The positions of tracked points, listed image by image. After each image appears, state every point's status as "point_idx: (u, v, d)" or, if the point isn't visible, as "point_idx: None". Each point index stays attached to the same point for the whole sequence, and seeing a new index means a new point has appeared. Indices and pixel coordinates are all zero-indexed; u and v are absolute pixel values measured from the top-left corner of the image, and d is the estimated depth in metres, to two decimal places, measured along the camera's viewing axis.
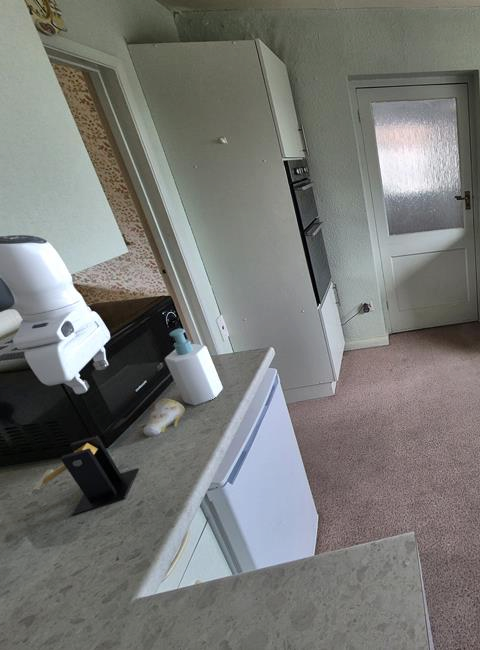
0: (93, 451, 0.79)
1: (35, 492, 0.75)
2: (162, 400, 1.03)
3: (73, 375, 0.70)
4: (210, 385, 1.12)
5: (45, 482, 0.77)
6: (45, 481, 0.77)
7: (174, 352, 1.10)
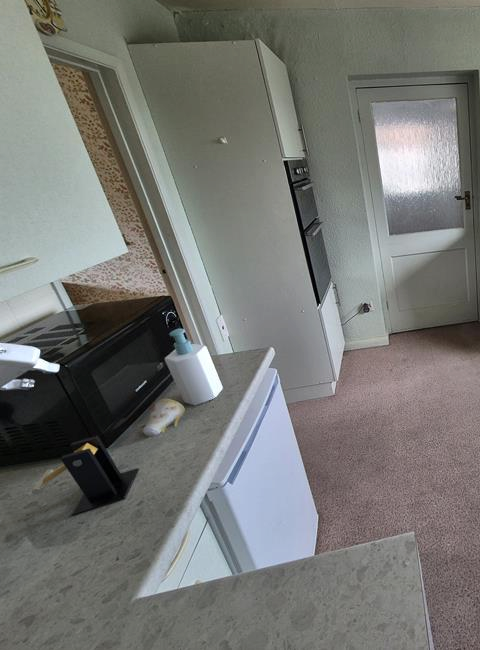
0: (93, 451, 0.79)
1: (35, 492, 0.75)
2: (162, 400, 1.03)
3: None
4: (210, 385, 1.12)
5: (45, 482, 0.77)
6: (45, 481, 0.77)
7: (174, 352, 1.10)
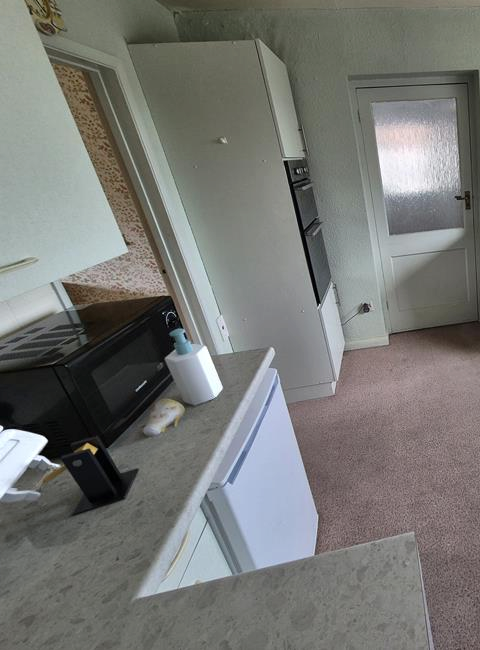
0: (93, 451, 0.79)
1: None
2: (162, 400, 1.03)
3: None
4: (210, 385, 1.12)
5: (45, 482, 0.77)
6: (45, 481, 0.77)
7: (174, 352, 1.10)
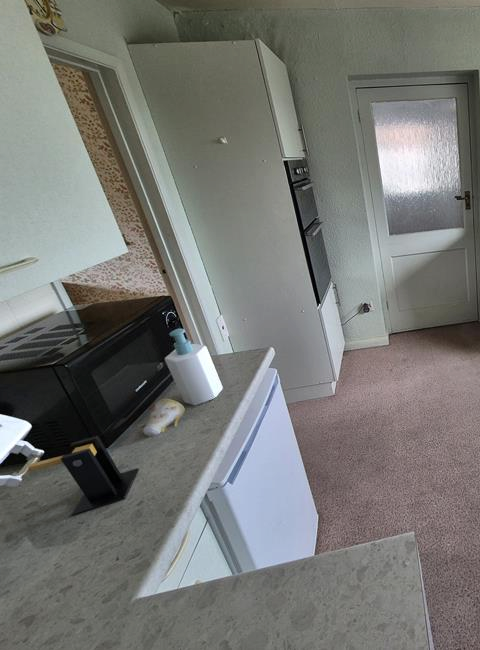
0: None
1: None
2: (162, 400, 1.03)
3: None
4: (210, 385, 1.12)
5: (30, 470, 0.75)
6: (31, 468, 0.76)
7: (174, 352, 1.10)
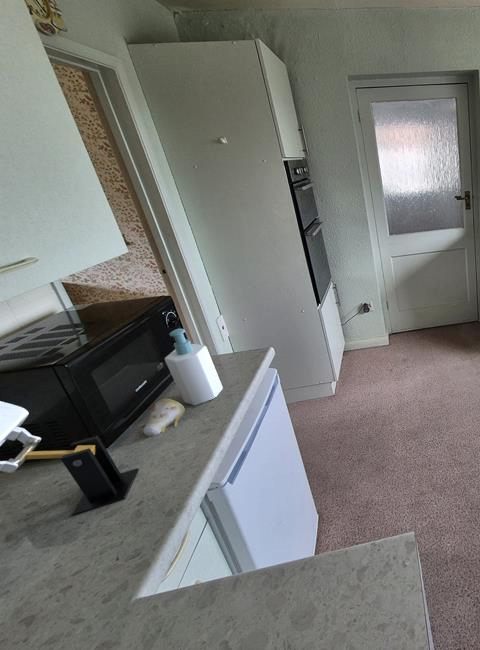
0: None
1: None
2: (162, 400, 1.03)
3: None
4: (210, 385, 1.12)
5: (26, 458, 0.74)
6: (27, 457, 0.75)
7: (174, 352, 1.10)
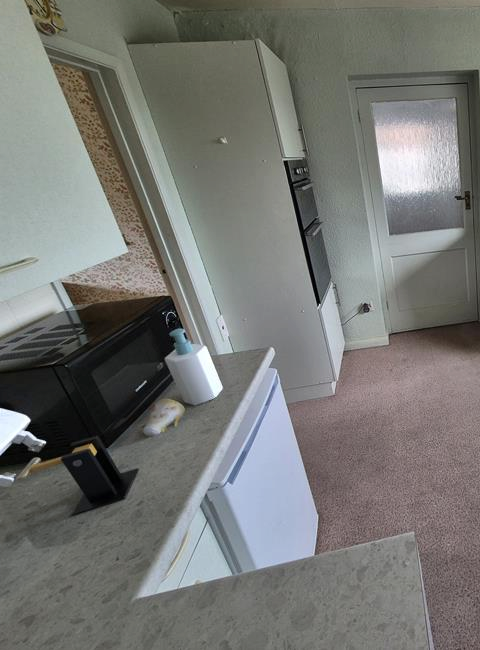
0: None
1: (19, 480, 0.73)
2: (162, 400, 1.03)
3: None
4: (210, 385, 1.12)
5: (31, 471, 0.75)
6: (32, 470, 0.76)
7: (174, 352, 1.10)
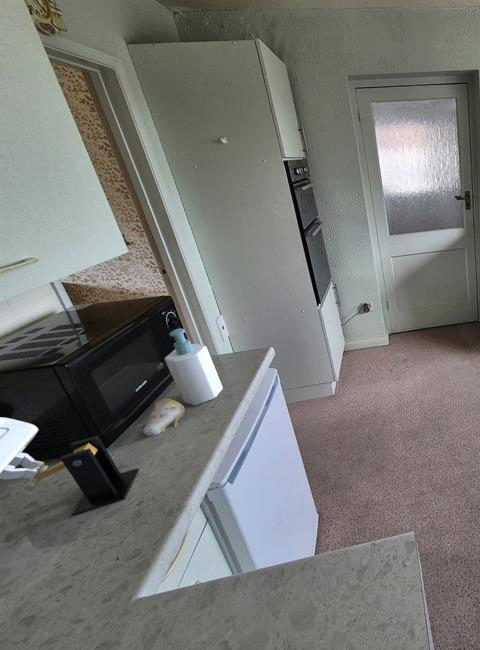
0: (93, 452, 0.79)
1: (28, 488, 0.75)
2: (162, 400, 1.03)
3: None
4: (210, 385, 1.12)
5: (39, 479, 0.77)
6: (40, 477, 0.77)
7: (174, 352, 1.10)
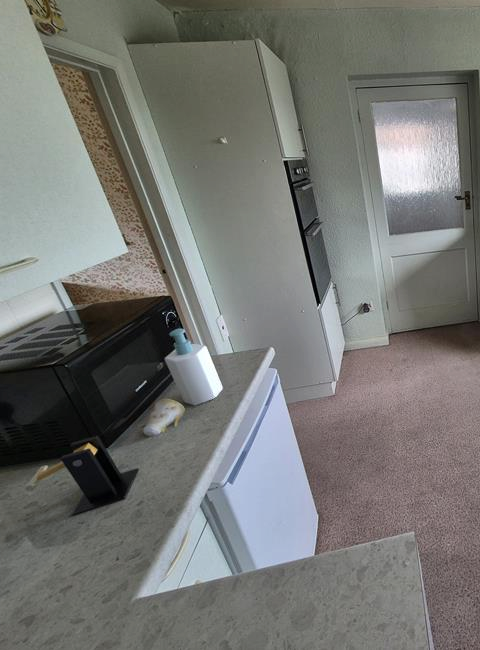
0: (93, 452, 0.79)
1: (28, 488, 0.75)
2: (162, 400, 1.03)
3: None
4: (210, 385, 1.12)
5: (39, 479, 0.77)
6: (40, 477, 0.77)
7: (174, 352, 1.10)
